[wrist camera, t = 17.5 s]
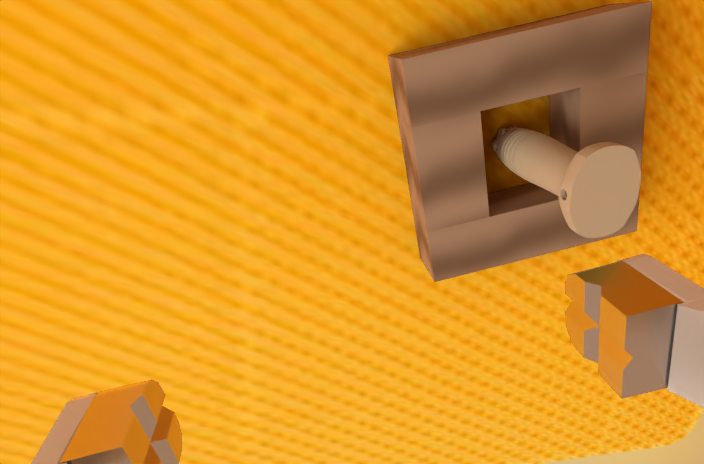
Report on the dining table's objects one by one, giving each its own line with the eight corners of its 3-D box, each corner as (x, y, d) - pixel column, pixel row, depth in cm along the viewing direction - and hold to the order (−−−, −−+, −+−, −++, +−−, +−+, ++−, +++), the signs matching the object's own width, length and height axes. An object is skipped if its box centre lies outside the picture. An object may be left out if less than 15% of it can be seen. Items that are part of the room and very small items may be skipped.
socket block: (387, 55, 39) (401, 59, 35) (610, 4, 40) (651, 1, 36) (420, 257, 48) (434, 281, 43) (603, 211, 49) (636, 230, 44)
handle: (532, 104, 43) (647, 140, 29) (528, 171, 46) (632, 232, 32) (481, 111, 43) (575, 150, 29) (481, 177, 45) (566, 242, 32)
